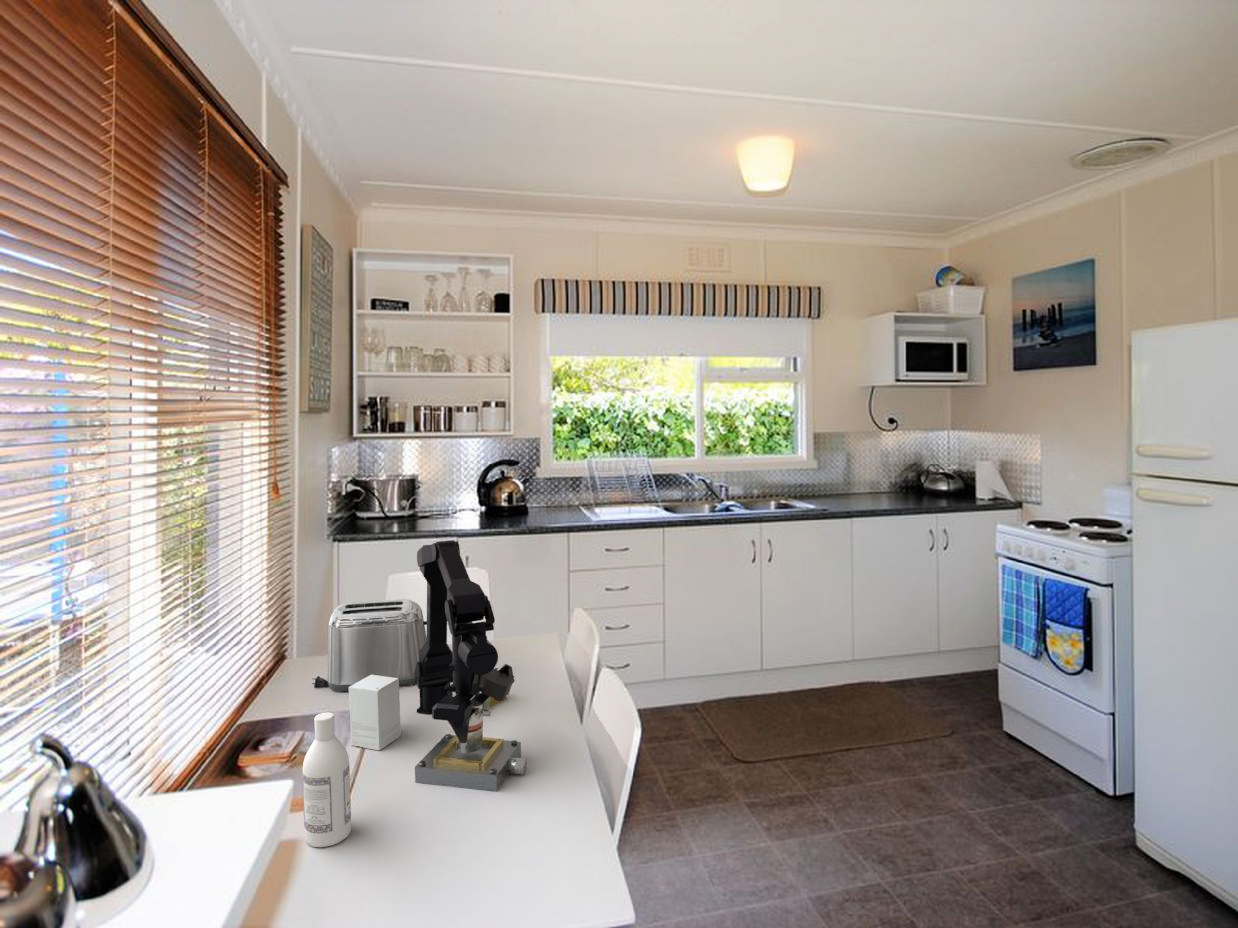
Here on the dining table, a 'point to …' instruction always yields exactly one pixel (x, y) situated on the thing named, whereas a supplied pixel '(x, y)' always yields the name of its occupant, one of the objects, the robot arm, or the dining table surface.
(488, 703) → the medication box
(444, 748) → the grey fixture base
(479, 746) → the spout can
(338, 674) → the toaster
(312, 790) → the bath foam
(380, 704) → the supplement box
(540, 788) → the dining table surface
